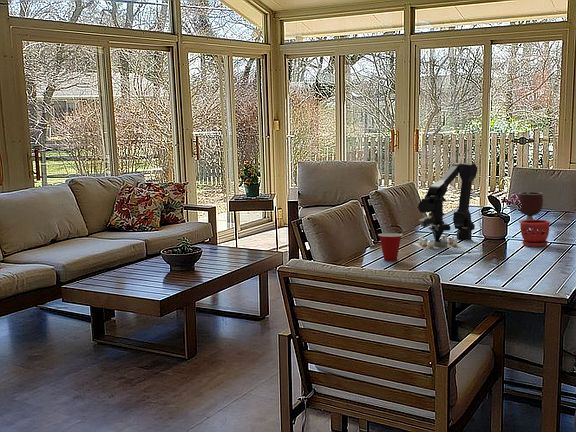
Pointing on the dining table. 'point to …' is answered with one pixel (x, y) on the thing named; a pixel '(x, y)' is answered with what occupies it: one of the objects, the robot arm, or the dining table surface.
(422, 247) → the board
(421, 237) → the steel spacers
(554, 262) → the dining table surface
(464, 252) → the mat
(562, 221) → the dining table surface
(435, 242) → the dark grey hexagonal block
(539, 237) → the plant pot
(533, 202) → the mate gourd
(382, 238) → the plastic cup
